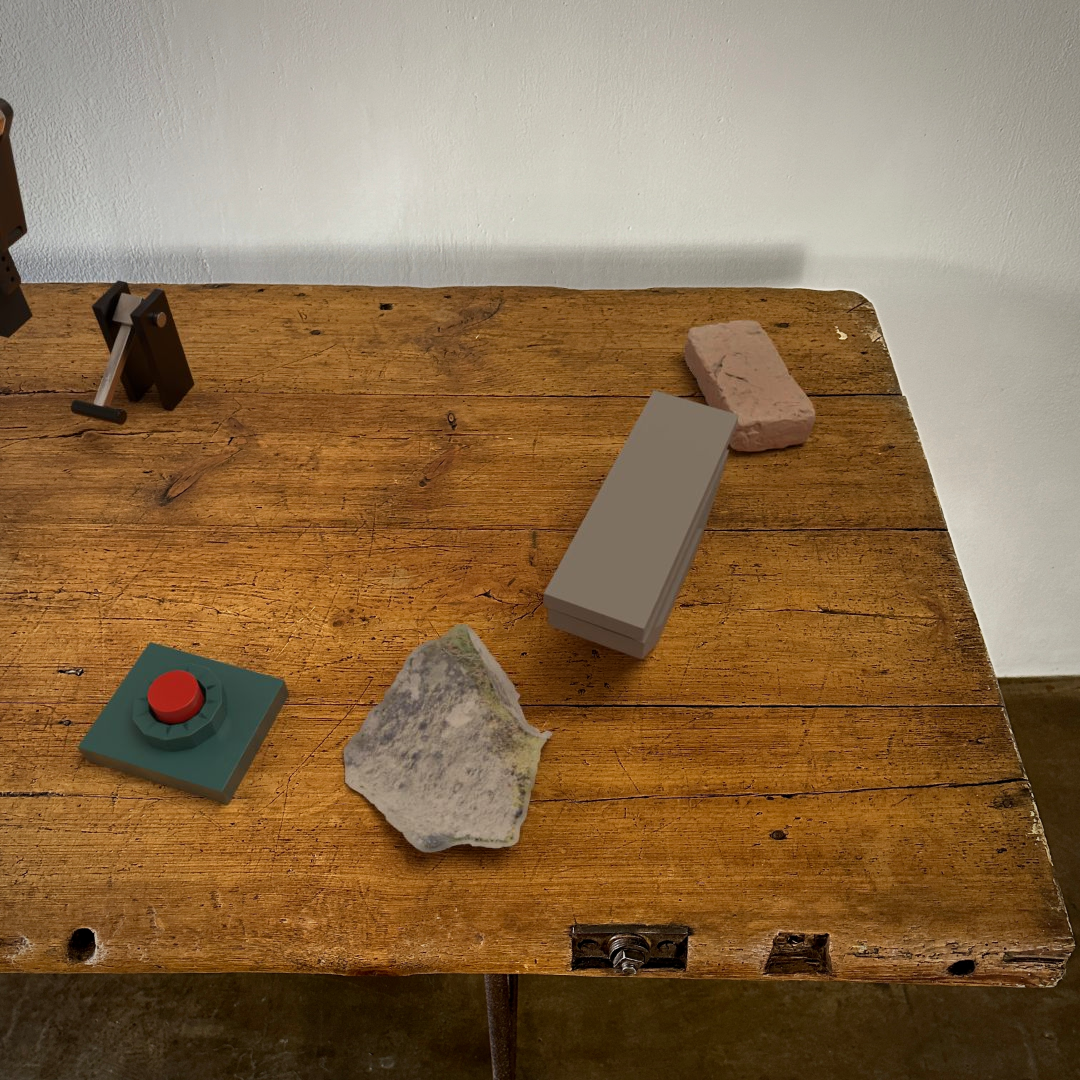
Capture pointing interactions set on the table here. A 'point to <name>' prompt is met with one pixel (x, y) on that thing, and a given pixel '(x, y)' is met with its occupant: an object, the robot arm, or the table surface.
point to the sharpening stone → (643, 527)
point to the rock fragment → (448, 748)
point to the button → (175, 697)
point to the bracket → (148, 347)
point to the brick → (749, 384)
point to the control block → (187, 725)
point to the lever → (112, 367)
